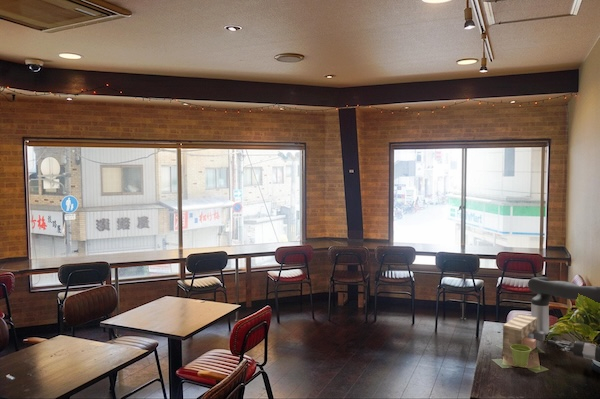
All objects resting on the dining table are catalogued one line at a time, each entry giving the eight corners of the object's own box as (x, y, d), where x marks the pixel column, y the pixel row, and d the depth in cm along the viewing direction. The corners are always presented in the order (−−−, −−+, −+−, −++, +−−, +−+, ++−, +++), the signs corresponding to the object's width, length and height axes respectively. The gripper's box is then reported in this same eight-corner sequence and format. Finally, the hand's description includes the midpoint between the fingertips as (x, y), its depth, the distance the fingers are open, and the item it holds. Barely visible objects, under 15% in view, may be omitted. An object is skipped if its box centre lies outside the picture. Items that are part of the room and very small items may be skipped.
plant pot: (534, 368, 230) (534, 351, 229) (514, 368, 230) (515, 351, 230) (525, 361, 239) (525, 344, 239) (506, 361, 239) (507, 344, 239)
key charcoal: (533, 336, 256) (533, 329, 256) (545, 339, 252) (545, 332, 252) (530, 338, 254) (530, 331, 253) (542, 341, 249) (542, 334, 249)
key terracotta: (523, 344, 246) (523, 336, 245) (535, 347, 241) (536, 339, 241) (520, 346, 243) (521, 338, 242) (533, 349, 239) (533, 341, 238)
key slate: (521, 339, 253) (521, 331, 253) (533, 341, 249) (533, 334, 249) (519, 341, 251) (519, 333, 250) (531, 343, 246) (531, 336, 246)
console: (519, 342, 264) (519, 314, 264) (536, 346, 258) (537, 317, 257) (502, 355, 246) (503, 325, 245) (520, 360, 240) (521, 328, 239)
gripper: (589, 339, 235) (551, 331, 247) (582, 346, 226) (543, 338, 238) (589, 354, 236) (551, 345, 248) (582, 361, 226) (543, 352, 238)
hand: (547, 342), depth 243 cm, fingers closed
